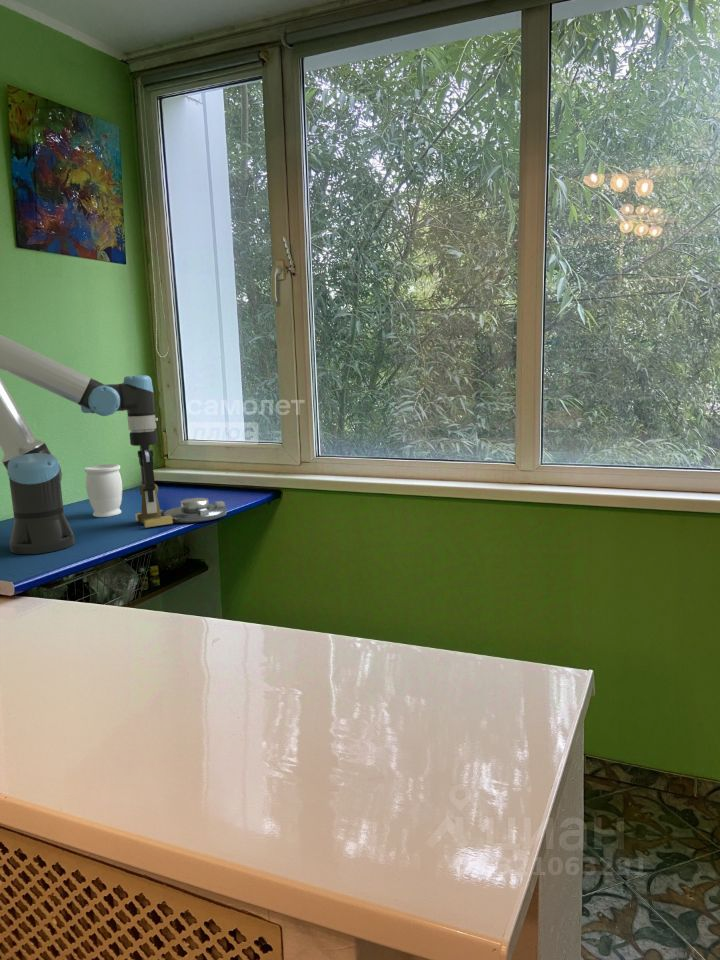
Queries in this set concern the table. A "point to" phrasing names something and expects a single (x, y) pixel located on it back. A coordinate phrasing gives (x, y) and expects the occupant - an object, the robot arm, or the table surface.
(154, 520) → the grey disc with block
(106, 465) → the jar
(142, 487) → the cork
